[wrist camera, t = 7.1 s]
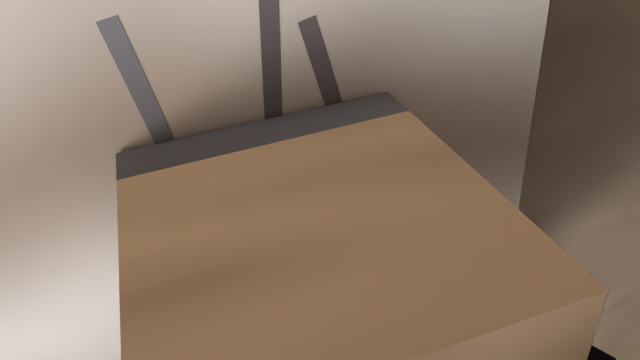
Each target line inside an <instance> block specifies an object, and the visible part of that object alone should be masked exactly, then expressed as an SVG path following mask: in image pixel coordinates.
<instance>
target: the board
mask: <svg viewBox="0 0 640 360" xmlns="http://www.w3.org/2000/svg"><path fill="white" fill-rule="evenodd" d="M549 3H550V0H0V360H121V340H120V301H119V262H118V222H117V183H116V153H119V152H123V151H128V150H132V149H137V148H141V147H146V146H150V145H154V144H159V143H163V142H168V141H172V140H176V139H181V138H185V137H190V136H194V135H198V134H203V133H207V132H212V131H216V130H221V129H225V128H229V127H234V126H238V125H243V124H247V123H251V122H256V121H260V120H265V119H269V118H273V117H278V116H282V115H287V114H291V113H296V112H300V111H304V110H309V109H313V108H318V107H322V106H326V105H331V104H335V103H340V102H344V101H349V100H353V99H357V98H362V97H366V96H371V95H375V94H379V93H384V92H389V93H390V94H391V95H392V96H393V97H394V98H395V99H397V100H398V101H399V102H400V103H401V104H402V105H403V106H404V107H405V108H407V109H408V110H409V111H410V112H411V113H412V114H413V115H414V116H415V117H417V118H418V119H419V120H420V121H421V122H422V123H423V124H424V125H425V126H427V127H428V128H429V129H430V130H431V131H432V132H433V133H434V134H435V135H437V136H438V137H439V138H440V139H441V140H442V141H443V142H444V143H445V144H447V145H448V146H449V147H450V148H451V149H452V150H453V151H454V152H455V153H457V154H458V155H459V156H460V157H461V158H462V159H463V160H464V161H465V162H467V163H468V164H469V165H470V166H471V167H472V168H473V169H474V170H475V171H477V172H478V173H479V174H480V175H481V176H482V177H483V178H484V179H485V180H487V181H488V182H489V183H490V184H491V185H492V186H493V187H494V188H495V189H497V190H498V191H499V192H500V193H501V194H502V195H503V196H504V197H505V198H507V199H508V200H509V201H510V202H511V203H512V204H513V205H514V206H515V207H517V208H518V209H519V203H520V196H521V189H522V183H523V176H524V169H525V163H526V156H527V150H528V143H529V136H530V130H531V123H532V116H533V110H534V103H535V96H536V90H537V83H538V76H539V70H540V63H541V56H542V50H543V43H544V36H545V30H546V23H547V16H548V10H549Z"/></svg>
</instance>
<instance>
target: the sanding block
mask: <svg viewBox="0 0 640 360" xmlns="http://www.w3.org/2000/svg"><path fill="white" fill-rule="evenodd" d="M116 183H117V222H118V262H119V301H120V340H121V360H587V358H588V355H589V352H590V349H591V346H592V342H593V339H594V336H595V333H596V330H597V326H598V323H599V320H600V317H601V314H602V311H603V307H604V304H605V301H606V298H607V295H608V292H609V290H608V289H606V288H605V287H604V286H603V285H602V284H601V283H600V282H599V281H598V280H596V279H595V278H594V277H593V276H592V275H591V274H590V273H589V272H588V271H586V270H585V269H584V268H583V267H582V266H581V265H580V264H579V263H578V262H576V261H575V260H574V259H573V258H572V257H571V256H570V255H569V254H568V253H567V252H565V251H564V250H563V249H562V248H561V247H560V246H559V245H558V244H557V243H555V242H554V241H553V240H552V239H551V238H550V237H549V236H548V235H547V234H545V233H544V232H543V231H542V230H541V229H540V228H539V227H538V226H537V225H535V224H534V223H533V222H532V221H531V220H530V219H529V218H528V217H527V216H525V215H524V214H523V213H522V212H521V211H520V210H519V209H518V208H517V207H515V206H514V205H513V204H512V203H511V202H510V201H509V200H508V199H507V198H505V197H504V196H503V195H502V194H501V193H500V192H499V191H498V190H497V189H495V188H494V187H493V186H492V185H491V184H490V183H489V182H488V181H487V180H485V179H484V178H483V177H482V176H481V175H480V174H479V173H478V172H477V171H475V170H474V169H473V168H472V167H471V166H470V165H469V164H468V163H467V162H465V161H464V160H463V159H462V158H461V157H460V156H459V155H458V154H457V153H455V152H454V151H453V150H452V149H451V148H450V147H449V146H448V145H447V144H445V143H444V142H443V141H442V140H441V139H440V138H439V137H438V136H437V135H435V134H434V133H433V132H432V131H431V130H430V129H429V128H428V127H427V126H425V125H424V124H423V123H422V122H421V121H420V120H419V119H418V118H417V117H415V116H414V115H413V114H412V113H411V112H410V111H409V110H408V109H407V108H405V107H404V106H403V105H402V104H401V103H400V102H399V101H398V100H397V99H395V98H394V97H393V96H392V95H391V94H390V93H389V92H384V93H379V94H375V95H371V96H366V97H362V98H357V99H353V100H349V101H344V102H340V103H335V104H331V105H326V106H322V107H318V108H313V109H309V110H304V111H300V112H296V113H291V114H287V115H282V116H278V117H273V118H269V119H265V120H260V121H256V122H251V123H247V124H243V125H238V126H234V127H229V128H225V129H221V130H216V131H212V132H207V133H203V134H198V135H194V136H190V137H185V138H181V139H176V140H172V141H168V142H163V143H159V144H154V145H150V146H146V147H141V148H137V149H132V150H128V151H123V152H119V153H116Z"/></svg>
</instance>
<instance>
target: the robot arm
mask: <svg viewBox="0 0 640 360" xmlns="http://www.w3.org/2000/svg"><path fill="white" fill-rule="evenodd" d="M587 360H616V358H615V357H613V356H611V355H609V354H607V353H605V352H603V351H602V350H600V349H598V348H596V347H594V346H591V349H590V352H589V355H588V358H587Z"/></svg>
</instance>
